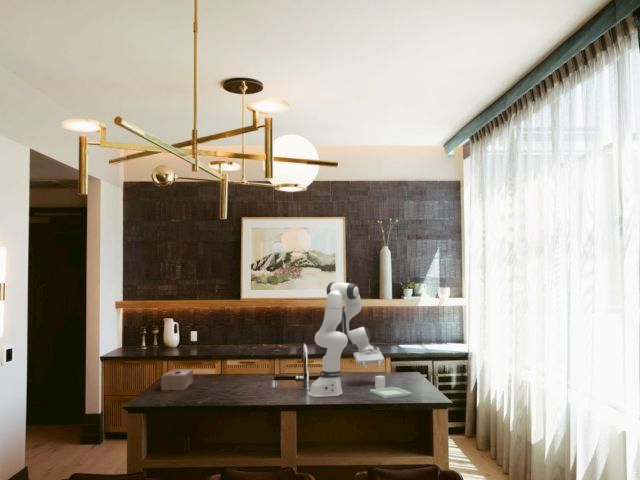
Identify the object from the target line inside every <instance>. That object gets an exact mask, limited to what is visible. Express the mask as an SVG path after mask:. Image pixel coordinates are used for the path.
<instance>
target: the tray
mask: <svg viewBox="0 0 640 480" xmlns="http://www.w3.org/2000/svg"><path fill="white" fill-rule="evenodd" d="M369 393H370V394H372V393H373V394H372V395H375V396H377V395H378V397H380V396H381V397H380V398H383V399H385V398H387V399H394V398H396V397H397V398H404V397H405V398H407V397H412V395H413V394H412V392H411V391H408V390H405V389H402V388H399V387H395V386H394V387H393V386H391V387H385V388H381V389H375V388H373V389H369ZM397 398H396V399H397Z"/></svg>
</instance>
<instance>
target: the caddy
mask: <svg viewBox="0 0 640 480" xmlns="http://www.w3.org/2000/svg"><path fill="white" fill-rule="evenodd" d="M374 383H375V384H374V385H375V386H374V389H375V388H376V389H381V388H386V376H384V375H375V376H374Z"/></svg>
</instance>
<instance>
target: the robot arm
mask: <svg viewBox="0 0 640 480" xmlns="http://www.w3.org/2000/svg"><path fill="white" fill-rule="evenodd" d="M326 296H327V297H326V301H325V306H324V307H325V308H324V316H323V321H322V324H321V326H320V328H319V330H318V331H317V332H316V333H315V335H314V342H315V344H316V345H317V346H319V347H321V348H325V349H326V348H327V349H326V353H325V355H324V356H322V360H321V362H322V363H321V364H322V370H321V371H320V370H318V371H317V372H316V374H317V375H319V377H318V378H316V380H314V381H313V382H312V383H311V385H310V391H306V392H307V393H306V394H307V395H308V396H309V397H312V398H321V397H326V398H327V397H339V396H340V395H343V393H344V392H343V388H342V382H341V379H342V378H341V377H342V372H341V371H342V370H341V355H342V353H343V350H344V349H345V348H346V347H353V346H354V345H356V346H357V348H358V349H357V350H358V351H354V352H353V353H352V354H353V358H354V362H355V364H357V365H361V366H363V367H364V369H365V370H367V369H368V368H369V366H368V364H377V365H376V367H377V369H380V368H381V363H383V362H384V360H385V357H384V355H383V354H382V351H381V350H380V347H378V346H374V345H371V344H370V340H371V334H370V331H369V329H368V328H367V327H366V326H360V327H358V328H355V329H352V330H350V321H351V320H352V318H354V317H356V315H358V314H359V313H360V312H361V310H362V307H363V305H362V300H361V296H360V289H359V287H358V285H357V284H355V283H353V282H352V283H351V282H343V281H339V282H338V281H337V282H335V281H334V282H330V283H329V284H328V285H327V286H326ZM343 304H344V305H343ZM343 306H344V307H343ZM343 308H344V309H343ZM341 322H342V324H341ZM340 324H341V325H342V326H341V327H342V332H341V331H337V327H338V326H339V325H340Z"/></svg>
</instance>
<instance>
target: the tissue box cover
mask: <svg viewBox="0 0 640 480" xmlns="http://www.w3.org/2000/svg"><path fill="white" fill-rule="evenodd" d="M160 377H161V378H160V379H161V380H160V381H161V382H160V383H161V389H160V391H161V390H184V389H186V388H187V387H188V386H189V385H190V384H192V383H193V384H194V369H171V370H170V371H168V372H165V373H164V374H163V375H161V376H160ZM193 384H192V385H193ZM188 388H189V387H188ZM188 388H187V389H188ZM187 389H186V390H187ZM184 391H185V390H184Z"/></svg>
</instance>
